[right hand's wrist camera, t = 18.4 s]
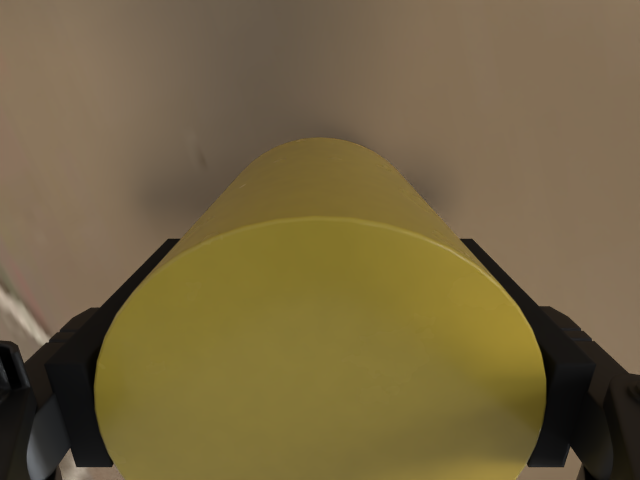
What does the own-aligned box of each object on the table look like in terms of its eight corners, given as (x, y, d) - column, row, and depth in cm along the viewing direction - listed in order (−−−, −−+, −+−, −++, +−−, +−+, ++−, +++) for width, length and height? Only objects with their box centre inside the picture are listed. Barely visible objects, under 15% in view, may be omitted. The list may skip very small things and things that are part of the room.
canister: (322, 357, 20) (325, 612, 10) (178, 243, 17) (6, 434, 8) (463, 237, 17) (637, 424, 8) (316, 87, 15) (310, 91, 6)
